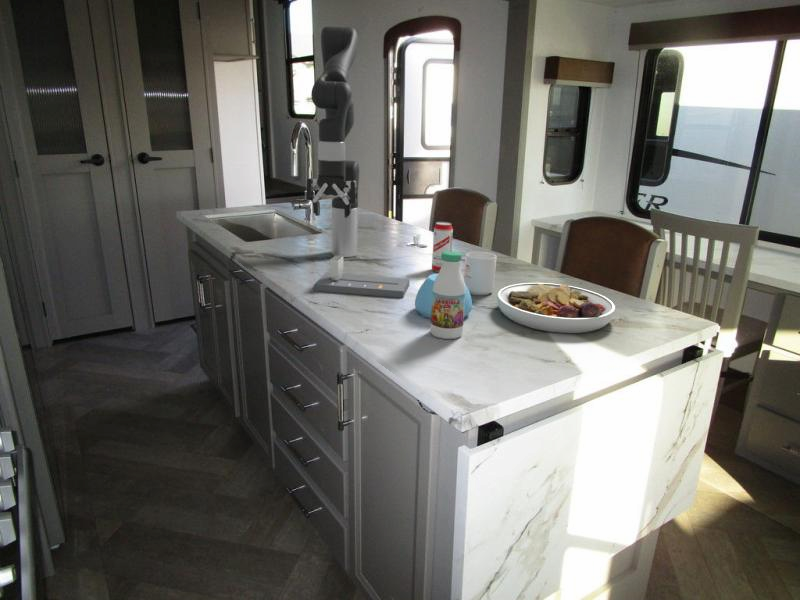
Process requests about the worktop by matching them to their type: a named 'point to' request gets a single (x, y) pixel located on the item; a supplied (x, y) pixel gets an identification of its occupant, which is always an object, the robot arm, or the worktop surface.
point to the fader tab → (336, 267)
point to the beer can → (441, 243)
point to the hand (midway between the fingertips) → (332, 216)
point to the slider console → (363, 285)
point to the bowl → (555, 307)
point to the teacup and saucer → (417, 241)
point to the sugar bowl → (425, 298)
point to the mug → (480, 272)
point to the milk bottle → (448, 298)
